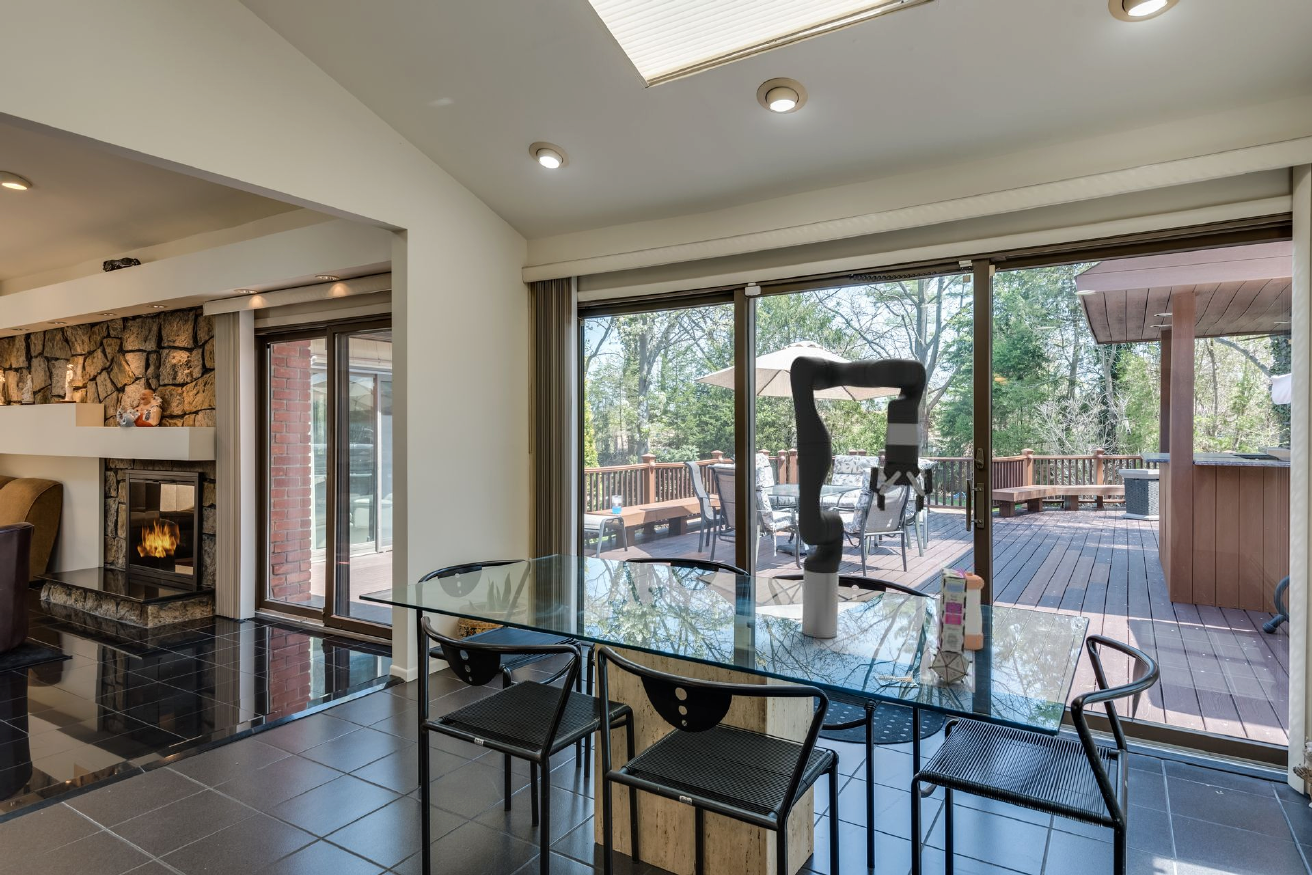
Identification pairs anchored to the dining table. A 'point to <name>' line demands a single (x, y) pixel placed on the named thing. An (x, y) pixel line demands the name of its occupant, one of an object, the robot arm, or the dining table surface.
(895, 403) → the robot arm
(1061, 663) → the dining table surface
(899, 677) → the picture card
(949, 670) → the game die
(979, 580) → the pepper shaker
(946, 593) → the candy bar box
